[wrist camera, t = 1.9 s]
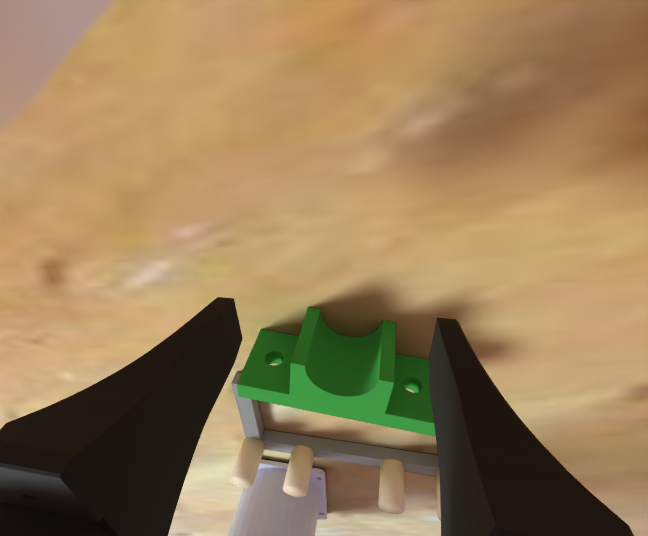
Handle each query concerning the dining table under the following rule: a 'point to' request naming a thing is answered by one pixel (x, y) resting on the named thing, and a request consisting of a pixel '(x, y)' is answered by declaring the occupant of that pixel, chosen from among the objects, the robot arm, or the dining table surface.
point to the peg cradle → (310, 447)
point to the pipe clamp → (340, 375)
